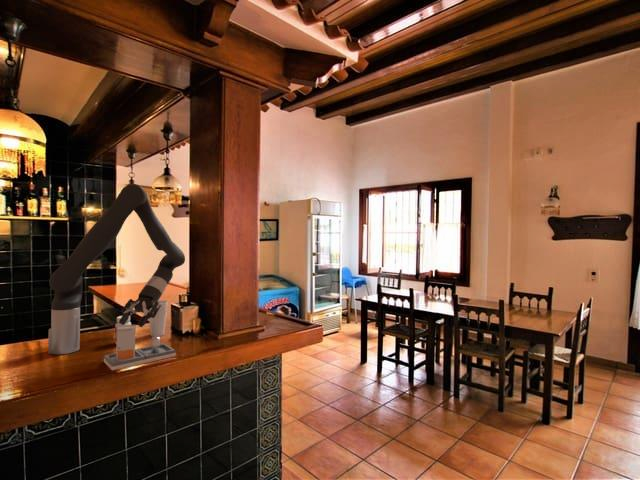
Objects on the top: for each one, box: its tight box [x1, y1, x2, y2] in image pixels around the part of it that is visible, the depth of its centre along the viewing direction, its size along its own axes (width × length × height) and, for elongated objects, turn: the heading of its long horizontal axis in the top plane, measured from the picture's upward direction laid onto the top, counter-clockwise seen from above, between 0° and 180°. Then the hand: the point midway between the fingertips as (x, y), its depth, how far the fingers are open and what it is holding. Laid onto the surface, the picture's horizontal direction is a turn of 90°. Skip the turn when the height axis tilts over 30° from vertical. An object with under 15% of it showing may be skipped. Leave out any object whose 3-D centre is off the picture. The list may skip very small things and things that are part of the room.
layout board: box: [103, 336, 176, 371], centre depth 131 cm, size 22×11×7 cm, turn 135°
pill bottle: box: [114, 315, 132, 345], centre depth 150 cm, size 6×6×11 cm
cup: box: [148, 299, 169, 337], centre depth 162 cm, size 8×8×16 cm
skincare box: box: [115, 324, 137, 361], centre depth 127 cm, size 6×4×12 cm
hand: (130, 324), depth 129 cm, fingers open, 8 cm apart
